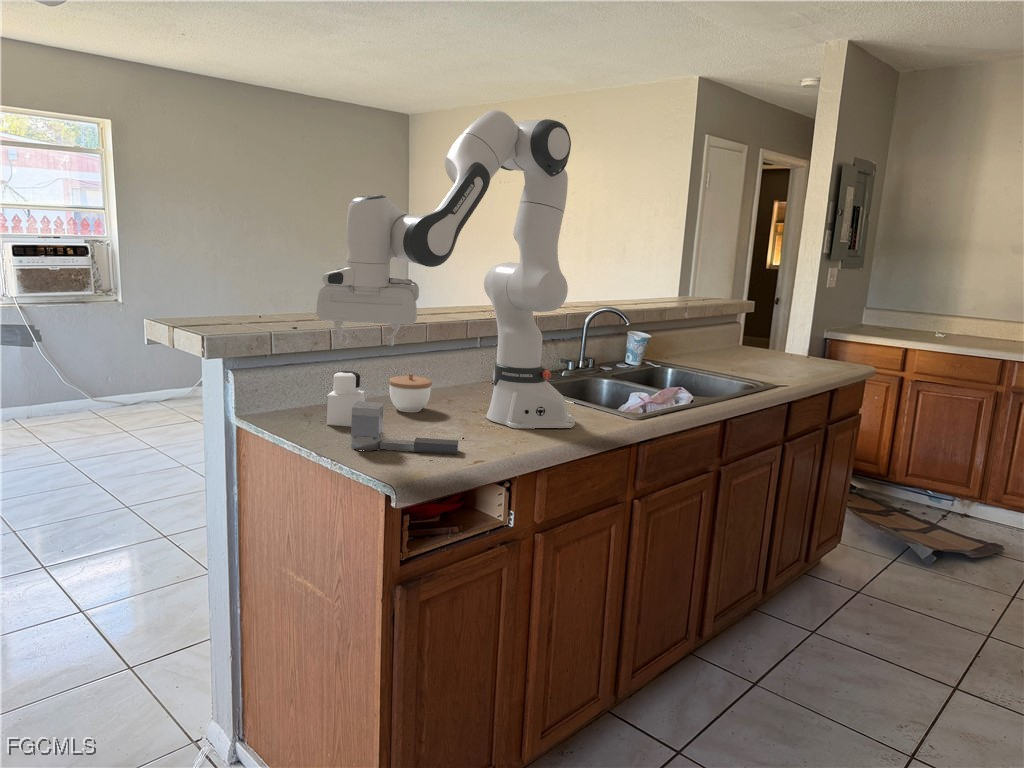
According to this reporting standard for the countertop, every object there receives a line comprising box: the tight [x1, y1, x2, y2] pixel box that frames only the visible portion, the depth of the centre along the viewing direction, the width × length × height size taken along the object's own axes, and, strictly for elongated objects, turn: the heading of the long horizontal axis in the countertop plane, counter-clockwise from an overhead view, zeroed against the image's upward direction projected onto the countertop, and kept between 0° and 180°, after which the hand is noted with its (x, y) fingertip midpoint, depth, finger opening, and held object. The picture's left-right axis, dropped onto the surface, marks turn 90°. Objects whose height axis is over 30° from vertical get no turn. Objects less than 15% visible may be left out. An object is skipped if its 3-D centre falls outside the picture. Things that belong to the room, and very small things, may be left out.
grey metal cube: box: [350, 401, 384, 438], centre depth 142 cm, size 6×6×6 cm
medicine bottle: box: [325, 370, 366, 428], centre depth 159 cm, size 7×7×12 cm
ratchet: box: [350, 431, 459, 456], centre depth 143 cm, size 22×6×7 cm, turn 92°
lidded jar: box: [388, 373, 433, 413], centre depth 176 cm, size 11×11×9 cm
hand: (367, 343), depth 143 cm, fingers open, 8 cm apart
